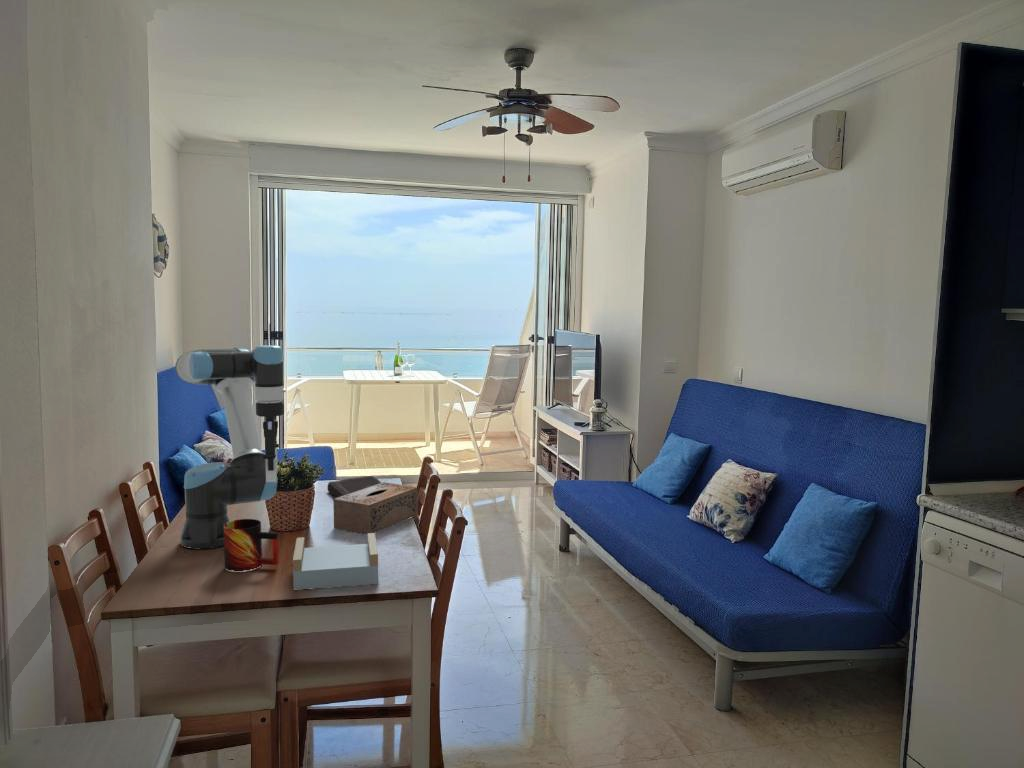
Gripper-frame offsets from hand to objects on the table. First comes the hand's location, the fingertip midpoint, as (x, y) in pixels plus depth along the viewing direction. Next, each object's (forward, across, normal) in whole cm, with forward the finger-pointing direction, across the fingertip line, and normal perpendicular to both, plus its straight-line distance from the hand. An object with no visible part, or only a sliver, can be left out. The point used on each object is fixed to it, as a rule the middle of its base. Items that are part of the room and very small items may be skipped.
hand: (271, 476), depth 208 cm
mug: (+24, -6, +6) cm, 25 cm away
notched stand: (+23, -19, -16) cm, 34 cm away
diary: (+24, +60, -30) cm, 71 cm away
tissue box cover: (+24, +27, -32) cm, 48 cm away
